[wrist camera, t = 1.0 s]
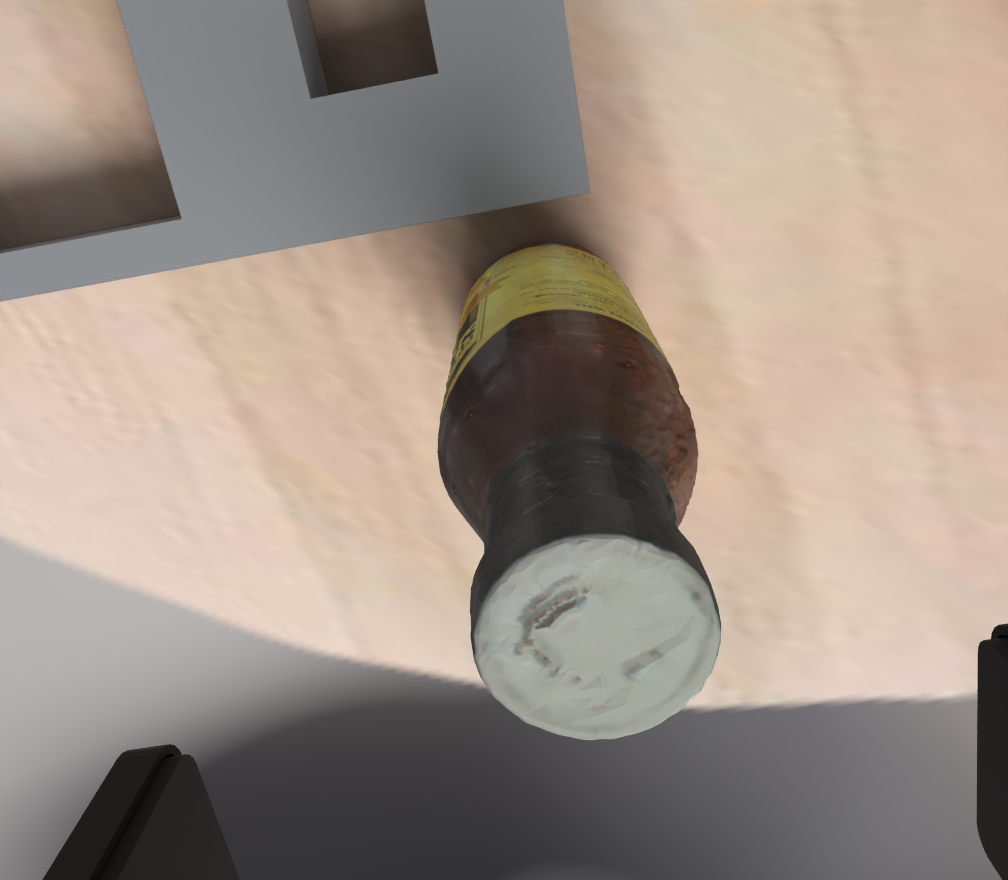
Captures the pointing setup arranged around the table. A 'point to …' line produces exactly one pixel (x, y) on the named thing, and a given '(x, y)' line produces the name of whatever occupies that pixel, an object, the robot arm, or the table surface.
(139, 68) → the caddy
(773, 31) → the table surface
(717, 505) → the table surface
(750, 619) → the table surface
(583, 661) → the sauce bottle
